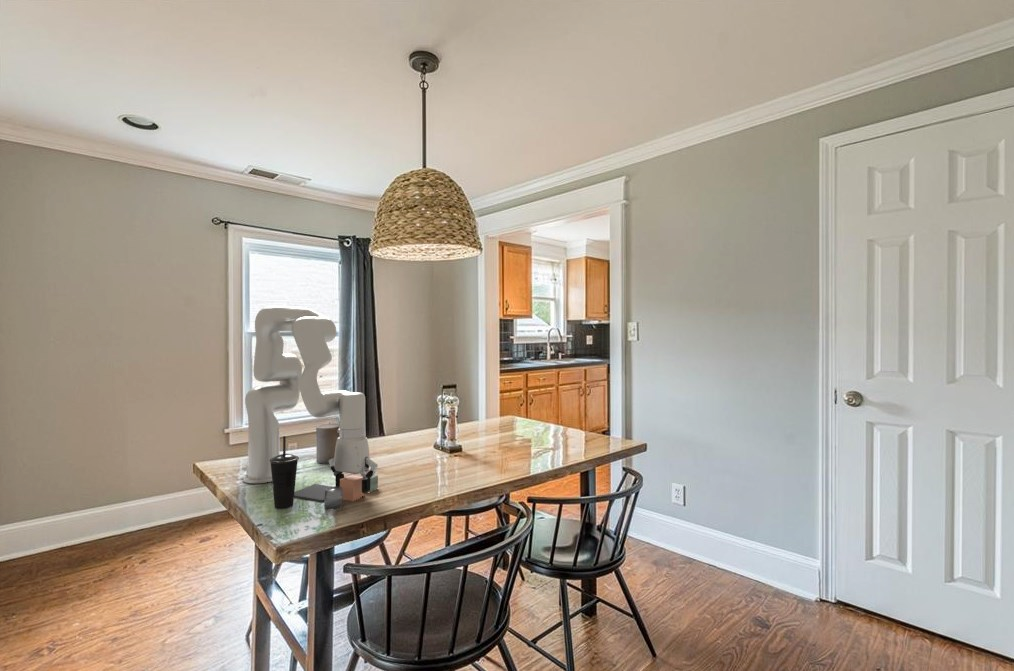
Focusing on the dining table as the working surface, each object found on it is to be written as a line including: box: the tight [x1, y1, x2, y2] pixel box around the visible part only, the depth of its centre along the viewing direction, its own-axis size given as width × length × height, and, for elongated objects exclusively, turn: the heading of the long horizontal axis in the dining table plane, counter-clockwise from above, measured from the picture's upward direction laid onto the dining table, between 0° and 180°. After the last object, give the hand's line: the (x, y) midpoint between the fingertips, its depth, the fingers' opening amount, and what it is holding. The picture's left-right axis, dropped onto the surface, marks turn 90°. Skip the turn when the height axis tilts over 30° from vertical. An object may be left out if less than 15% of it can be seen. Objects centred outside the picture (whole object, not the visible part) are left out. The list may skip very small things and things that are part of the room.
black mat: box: [294, 483, 333, 503], centre depth 150 cm, size 13×11×1 cm
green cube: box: [368, 474, 379, 493], centre depth 154 cm, size 4×4×4 cm
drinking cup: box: [269, 435, 299, 510], centre depth 139 cm, size 8×8×20 cm
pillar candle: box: [315, 421, 340, 465], centre depth 188 cm, size 10×10×15 cm
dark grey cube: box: [323, 485, 344, 510], centre depth 139 cm, size 5×5×5 cm
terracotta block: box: [340, 474, 365, 502], centre depth 147 cm, size 5×5×6 cm
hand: (352, 489), depth 146 cm, fingers open, 9 cm apart
